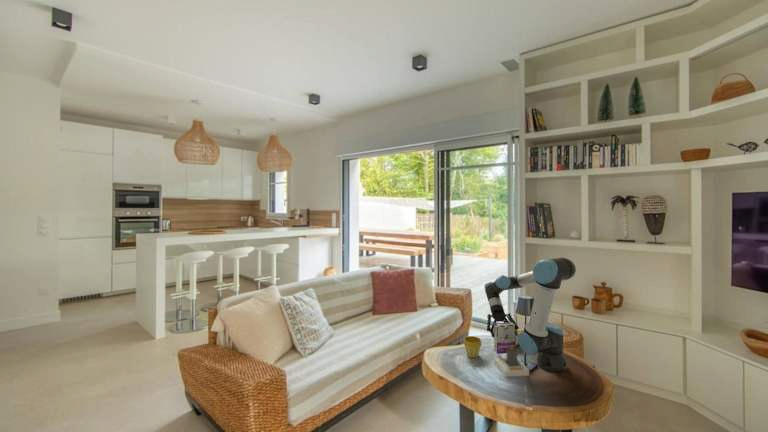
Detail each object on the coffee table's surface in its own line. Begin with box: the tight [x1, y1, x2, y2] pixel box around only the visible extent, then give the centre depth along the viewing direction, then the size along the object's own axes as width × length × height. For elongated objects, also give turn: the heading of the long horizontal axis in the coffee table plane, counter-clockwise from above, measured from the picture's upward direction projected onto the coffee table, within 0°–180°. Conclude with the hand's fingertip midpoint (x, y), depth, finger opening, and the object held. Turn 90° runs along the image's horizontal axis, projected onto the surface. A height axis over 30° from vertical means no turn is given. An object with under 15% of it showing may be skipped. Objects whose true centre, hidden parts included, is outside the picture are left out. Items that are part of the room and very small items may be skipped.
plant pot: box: [463, 335, 482, 359], centre depth 199 cm, size 10×10×10 cm
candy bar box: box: [493, 321, 517, 355], centre depth 189 cm, size 11×5×16 cm, turn 95°
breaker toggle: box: [505, 350, 519, 366], centre depth 180 cm, size 6×4×7 cm, turn 92°
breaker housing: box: [494, 354, 530, 378], centre depth 181 cm, size 13×15×4 cm
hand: (506, 342), depth 186 cm, fingers closed on candy bar box, 11 cm apart
